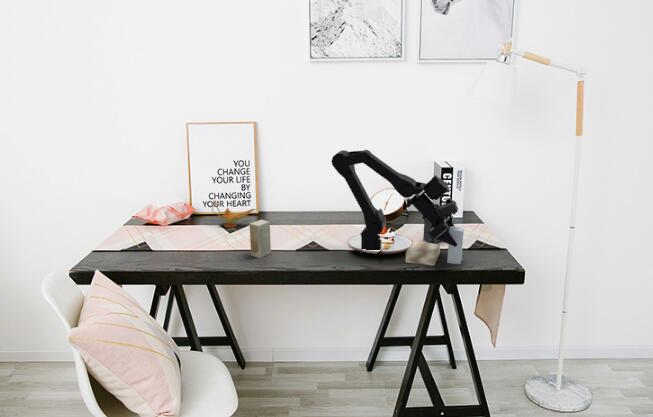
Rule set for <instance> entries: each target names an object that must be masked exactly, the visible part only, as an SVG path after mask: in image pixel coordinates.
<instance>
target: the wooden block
mask: <svg viewBox="0 0 653 417" xmlns="http://www.w3.org/2000/svg"><path fill="white" fill-rule="evenodd" d="M440 253H441V244H440V243H439V244H438V243H434V244H432V243H429V242H424V241H423V242H421V241H415V240H414V241H412V242H411V243H410V245H409V247H408V248H407V250H406V252H405V263H408V264H409V263H411V264H418V265H419V264H420V265H426V266H434V267H435V266H436V263H437V260H438V259H439V257H440Z"/></svg>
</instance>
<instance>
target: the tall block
mask: <svg viewBox="0 0 653 417" xmlns="http://www.w3.org/2000/svg"><path fill="white" fill-rule="evenodd" d="M464 228H465V227H463V226H455V225H454V226H451V227H450V230H449V232H450V234H451V235H452V237H453V238H454V240H455V241H456V243H457V244H458V245H457V246H456V247H454V246H452V245H450V244H447V245H448V246H447V258H446V259H447V262H446V263H447V264H453V265H454V264H455V265H461V262H462V258H463V244H464V231H465V229H464Z"/></svg>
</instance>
